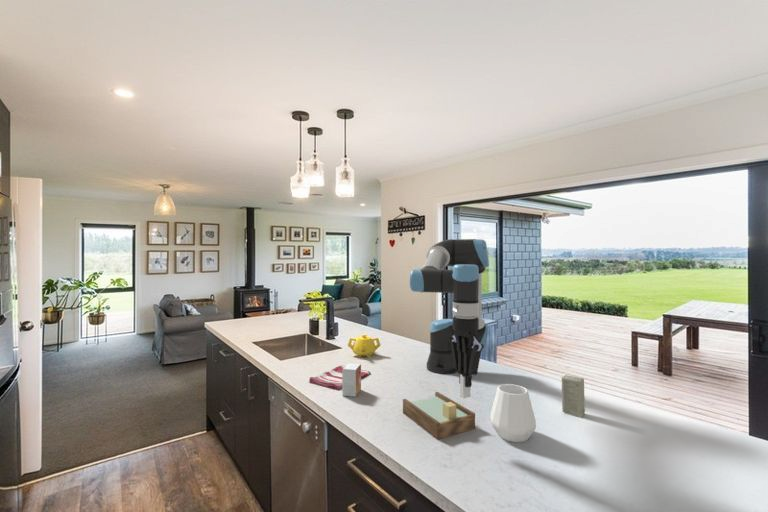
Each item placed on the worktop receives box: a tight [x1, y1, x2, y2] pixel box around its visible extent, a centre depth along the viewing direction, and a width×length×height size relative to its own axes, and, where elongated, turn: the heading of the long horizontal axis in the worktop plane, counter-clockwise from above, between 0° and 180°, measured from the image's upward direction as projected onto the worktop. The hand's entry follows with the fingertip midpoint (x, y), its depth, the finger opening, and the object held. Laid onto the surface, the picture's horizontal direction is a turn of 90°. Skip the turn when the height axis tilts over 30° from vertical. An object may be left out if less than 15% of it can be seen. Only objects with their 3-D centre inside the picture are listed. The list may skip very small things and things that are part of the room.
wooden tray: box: [402, 391, 476, 440], centre depth 119 cm, size 15×20×5 cm
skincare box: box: [561, 374, 586, 418], centre depth 125 cm, size 6×4×12 cm
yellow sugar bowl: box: [347, 333, 381, 358], centre depth 196 cm, size 20×18×11 cm
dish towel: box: [308, 365, 372, 391], centre depth 160 cm, size 17×23×3 cm
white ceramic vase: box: [489, 383, 537, 443], centre depth 110 cm, size 13×13×14 cm
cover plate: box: [410, 396, 467, 422], centre depth 119 cm, size 12×18×5 cm
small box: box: [341, 362, 362, 398], centre depth 143 cm, size 8×6×10 cm
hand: (465, 396), depth 106 cm, fingers closed
